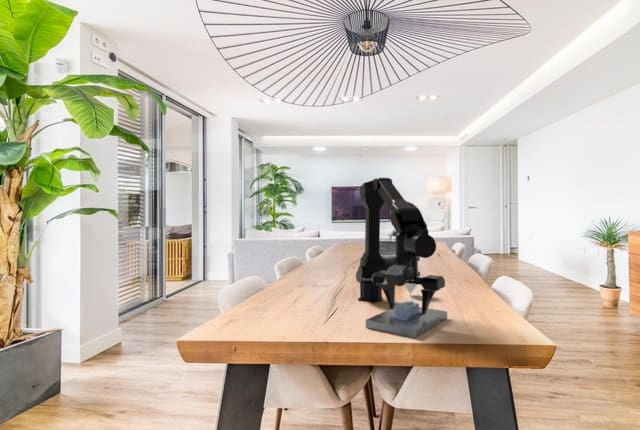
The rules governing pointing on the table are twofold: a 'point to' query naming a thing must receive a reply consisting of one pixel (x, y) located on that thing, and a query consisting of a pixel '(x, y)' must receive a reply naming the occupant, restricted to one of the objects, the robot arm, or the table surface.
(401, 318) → the servo
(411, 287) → the spinning top
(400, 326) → the chassis plate
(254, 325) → the table surface
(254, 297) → the table surface
